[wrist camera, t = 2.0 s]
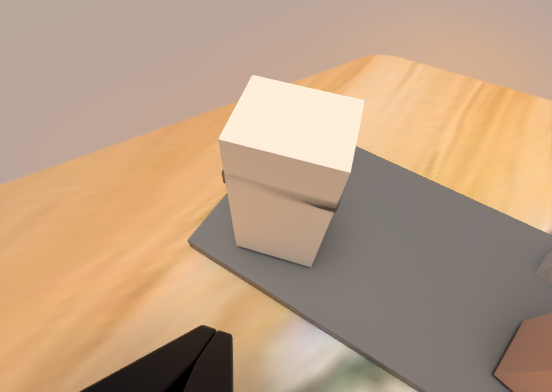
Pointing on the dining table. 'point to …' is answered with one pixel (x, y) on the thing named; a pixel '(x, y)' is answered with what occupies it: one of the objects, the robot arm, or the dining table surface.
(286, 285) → the grey base plate
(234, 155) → the white tall rectangular block
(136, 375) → the robot arm
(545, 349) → the salmon pink block
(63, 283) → the dining table surface
